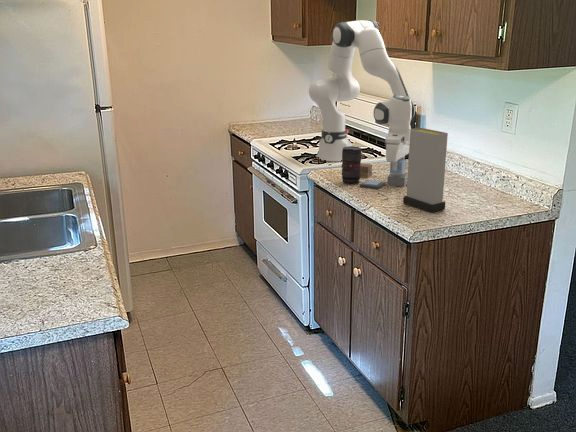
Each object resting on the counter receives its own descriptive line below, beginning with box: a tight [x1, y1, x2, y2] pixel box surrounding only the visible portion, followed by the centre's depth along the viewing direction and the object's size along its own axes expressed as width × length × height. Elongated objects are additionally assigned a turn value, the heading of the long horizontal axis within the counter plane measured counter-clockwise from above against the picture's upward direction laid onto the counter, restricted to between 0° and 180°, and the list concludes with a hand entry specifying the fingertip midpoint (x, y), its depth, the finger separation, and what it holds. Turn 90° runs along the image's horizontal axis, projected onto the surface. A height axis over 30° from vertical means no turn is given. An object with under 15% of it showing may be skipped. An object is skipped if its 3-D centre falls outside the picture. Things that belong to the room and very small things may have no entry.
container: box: [402, 127, 449, 213], centre depth 215 cm, size 7×18×30 cm, turn 34°
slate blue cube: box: [389, 159, 407, 174], centre depth 248 cm, size 5×5×5 cm
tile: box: [359, 179, 386, 190], centre depth 247 cm, size 8×8×2 cm
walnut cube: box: [360, 163, 373, 179], centre depth 262 cm, size 5×5×5 cm
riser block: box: [386, 172, 408, 187], centre depth 249 cm, size 7×7×4 cm
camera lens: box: [341, 145, 363, 185], centre depth 250 cm, size 8×8×15 cm
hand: (397, 168), depth 248 cm, fingers closed on slate blue cube, 5 cm apart
